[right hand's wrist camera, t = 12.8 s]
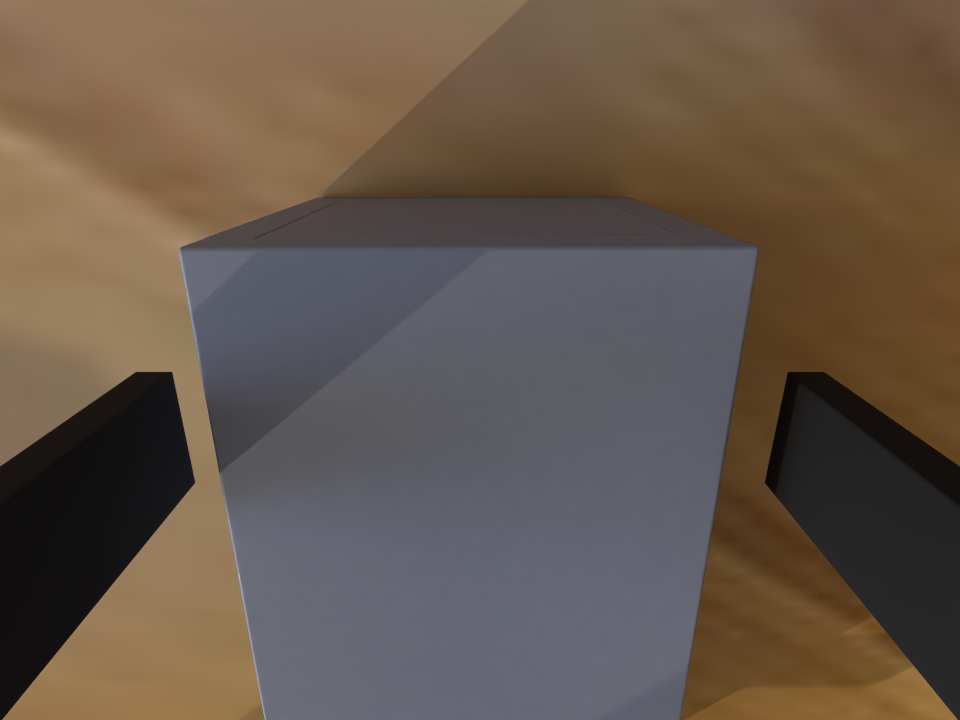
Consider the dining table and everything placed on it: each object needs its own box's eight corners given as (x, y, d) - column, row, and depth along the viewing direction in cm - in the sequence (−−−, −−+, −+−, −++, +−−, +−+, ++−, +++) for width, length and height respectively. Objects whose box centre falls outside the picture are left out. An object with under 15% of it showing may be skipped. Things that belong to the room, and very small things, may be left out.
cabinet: (591, 627, 25) (653, 885, 17) (357, 628, 25) (294, 889, 16) (628, 197, 19) (762, 245, 10) (315, 197, 19) (176, 246, 10)
